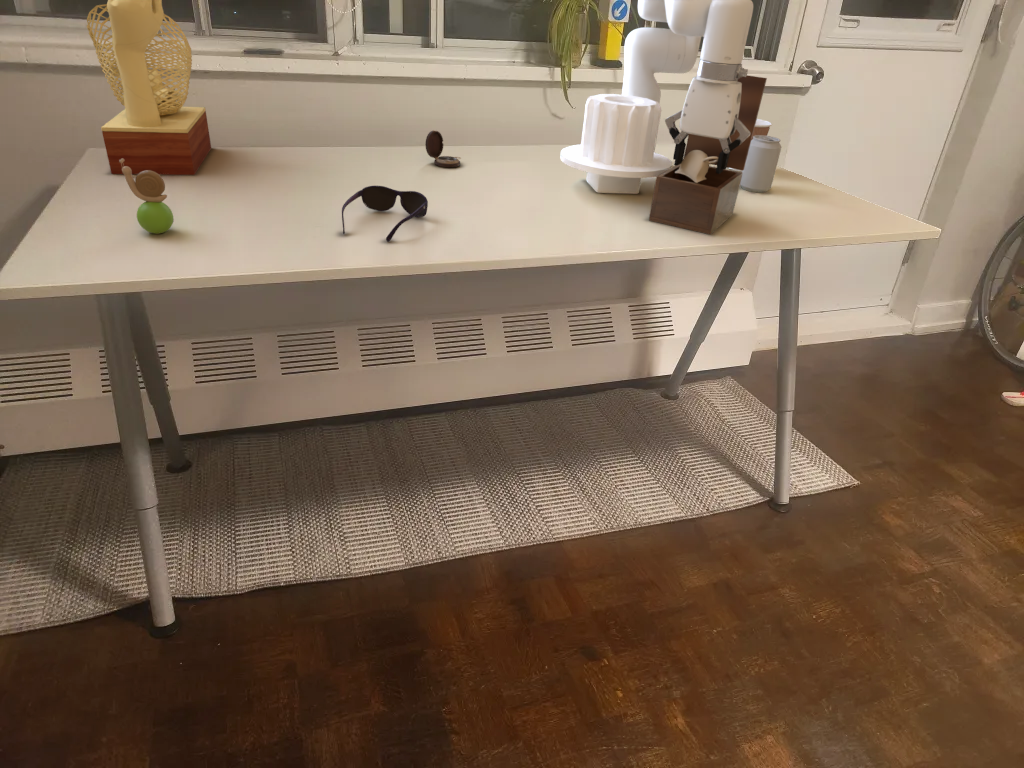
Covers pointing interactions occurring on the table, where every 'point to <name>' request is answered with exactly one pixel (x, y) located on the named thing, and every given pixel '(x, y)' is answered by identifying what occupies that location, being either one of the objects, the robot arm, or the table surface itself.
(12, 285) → the table surface
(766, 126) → the coffee cup
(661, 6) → the robot arm
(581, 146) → the flanged gear
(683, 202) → the chest
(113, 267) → the table surface
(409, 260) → the table surface
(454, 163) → the compass
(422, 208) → the sunglasses
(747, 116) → the chest lid
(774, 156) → the can
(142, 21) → the cream lattice sculpture
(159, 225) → the snail figurine
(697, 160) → the beige rounded piece
